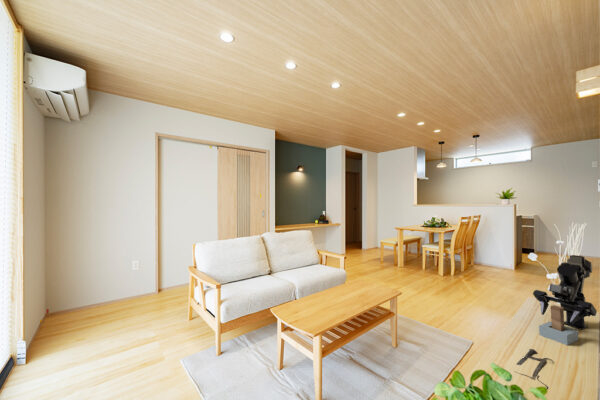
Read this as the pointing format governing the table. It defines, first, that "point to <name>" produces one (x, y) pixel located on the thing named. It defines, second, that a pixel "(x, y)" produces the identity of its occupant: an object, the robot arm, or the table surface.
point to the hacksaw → (538, 368)
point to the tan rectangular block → (557, 318)
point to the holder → (558, 334)
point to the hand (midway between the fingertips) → (555, 318)
